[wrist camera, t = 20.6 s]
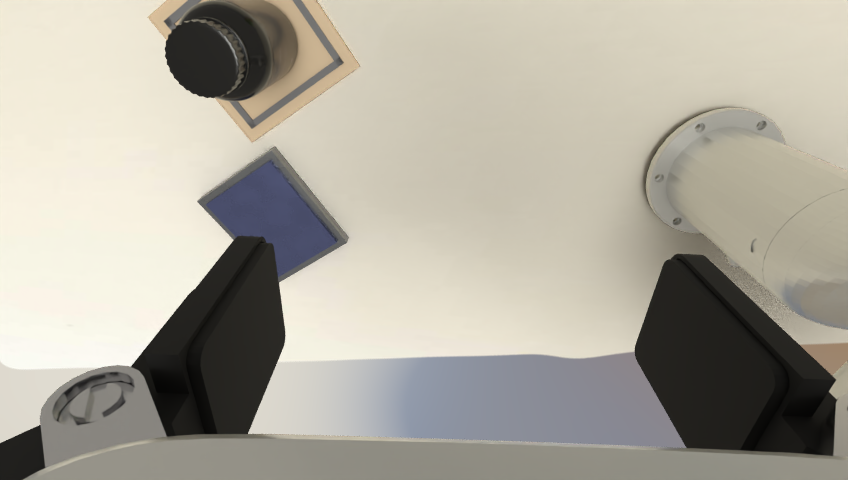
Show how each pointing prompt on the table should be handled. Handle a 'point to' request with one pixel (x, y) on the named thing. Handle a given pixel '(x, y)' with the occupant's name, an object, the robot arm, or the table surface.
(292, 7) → the card
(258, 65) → the supplement bottle
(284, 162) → the ink pad
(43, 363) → the table surface
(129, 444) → the robot arm
